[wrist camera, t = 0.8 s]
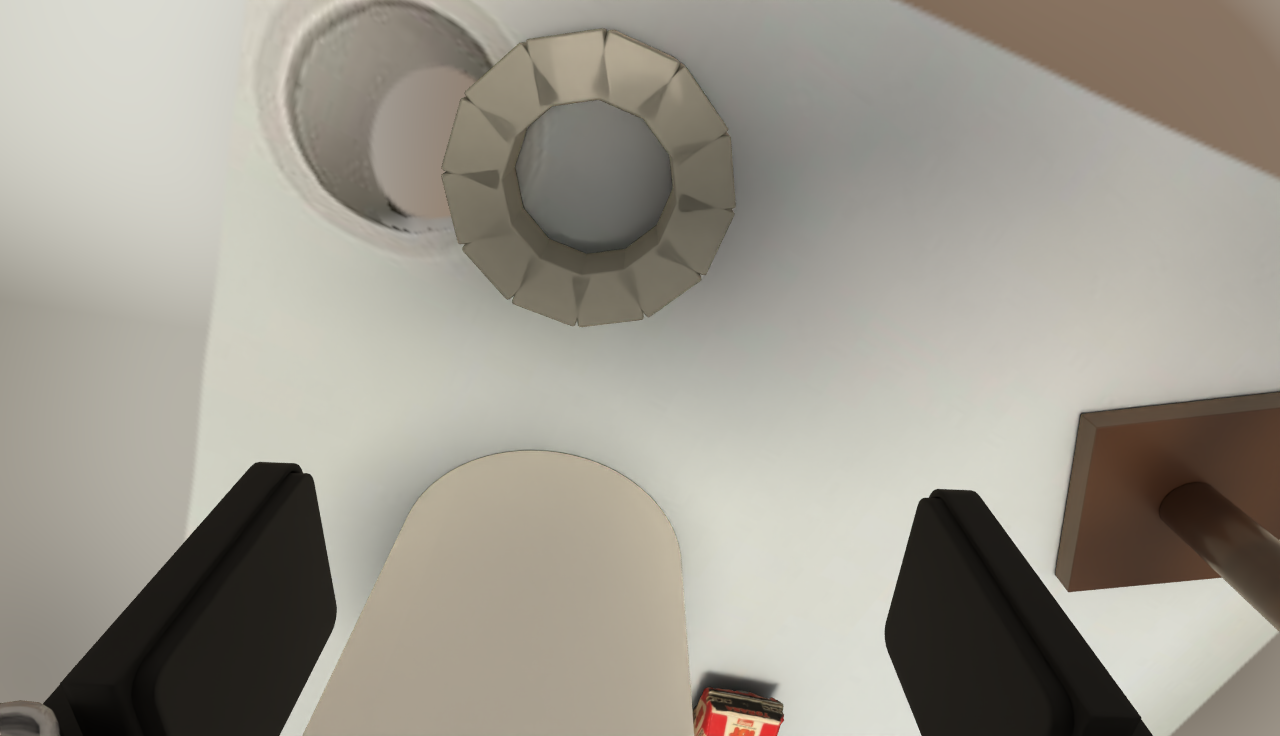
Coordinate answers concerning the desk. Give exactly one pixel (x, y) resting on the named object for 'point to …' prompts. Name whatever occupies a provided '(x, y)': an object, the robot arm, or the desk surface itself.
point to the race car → (736, 714)
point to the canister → (521, 612)
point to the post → (1177, 498)
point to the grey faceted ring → (512, 237)
